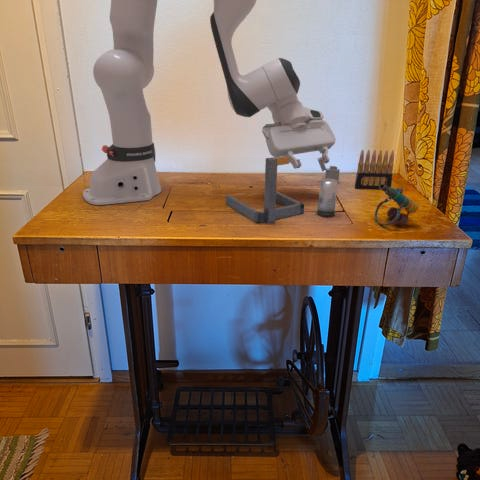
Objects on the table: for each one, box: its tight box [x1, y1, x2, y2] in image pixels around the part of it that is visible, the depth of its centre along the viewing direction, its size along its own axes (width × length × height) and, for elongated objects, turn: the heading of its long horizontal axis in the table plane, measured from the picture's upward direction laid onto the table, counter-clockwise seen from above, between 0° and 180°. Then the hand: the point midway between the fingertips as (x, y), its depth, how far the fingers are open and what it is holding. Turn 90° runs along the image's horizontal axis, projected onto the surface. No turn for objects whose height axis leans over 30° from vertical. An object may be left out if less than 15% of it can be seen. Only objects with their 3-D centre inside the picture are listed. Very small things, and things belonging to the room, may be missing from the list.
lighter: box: [317, 156, 341, 182], centre depth 139 cm, size 7×2×8 cm, turn 84°
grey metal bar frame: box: [225, 156, 305, 225], centre depth 114 cm, size 14×18×16 cm
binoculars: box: [374, 184, 420, 227], centre depth 108 cm, size 9×9×10 cm
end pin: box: [316, 177, 339, 218], centre depth 113 cm, size 5×5×9 cm
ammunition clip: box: [354, 149, 395, 191], centre depth 133 cm, size 11×2×12 cm, turn 86°
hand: (312, 164), depth 116 cm, fingers open, 8 cm apart
